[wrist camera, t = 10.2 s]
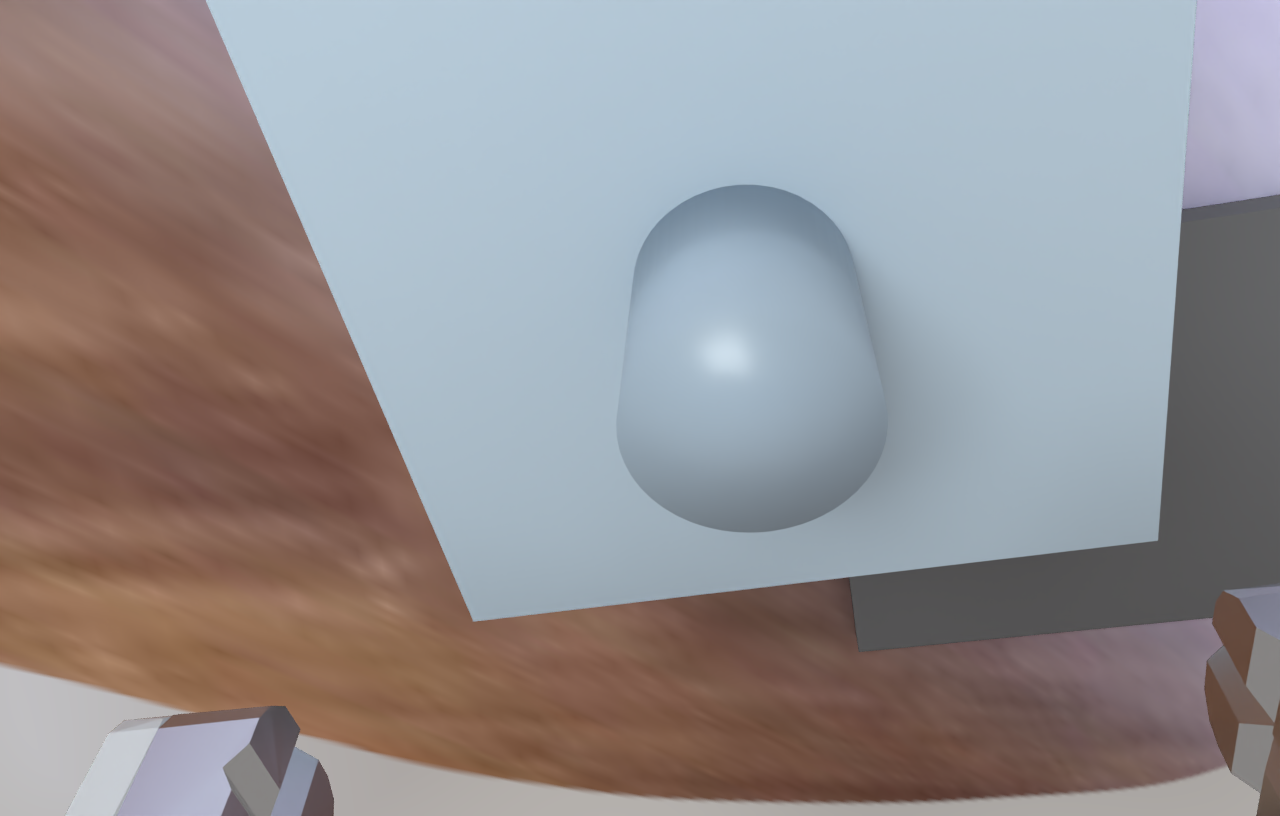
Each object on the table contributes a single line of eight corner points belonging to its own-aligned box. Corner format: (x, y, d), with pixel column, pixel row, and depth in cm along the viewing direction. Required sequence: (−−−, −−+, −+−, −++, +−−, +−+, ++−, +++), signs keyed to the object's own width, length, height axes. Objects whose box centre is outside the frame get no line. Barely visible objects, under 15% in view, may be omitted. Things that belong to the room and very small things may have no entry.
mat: (856, 637, 33) (858, 652, 33) (809, 267, 26) (811, 279, 26) (1309, 592, 31) (1319, 607, 31) (1395, 177, 24) (1409, 187, 24)
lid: (483, 583, 21) (434, 784, 17) (212, -72, 14) (39, 29, 10) (1138, 501, 19) (1242, 709, 15) (1184, -305, 12) (1390, -282, 8)
